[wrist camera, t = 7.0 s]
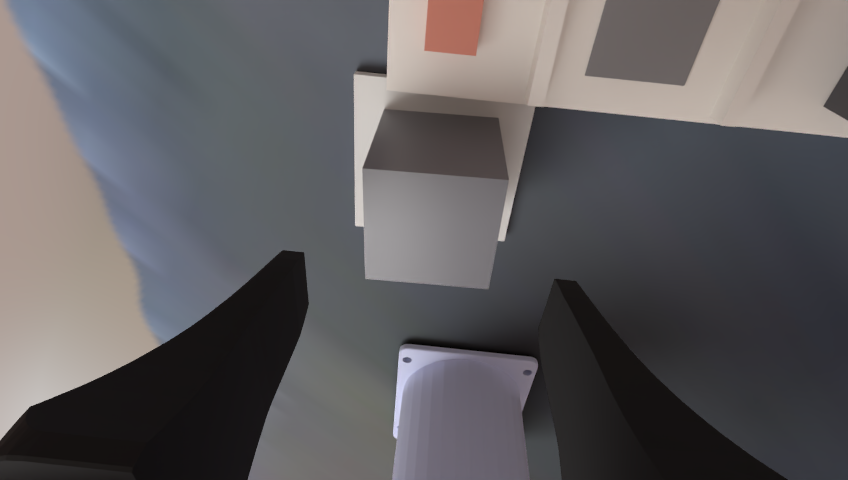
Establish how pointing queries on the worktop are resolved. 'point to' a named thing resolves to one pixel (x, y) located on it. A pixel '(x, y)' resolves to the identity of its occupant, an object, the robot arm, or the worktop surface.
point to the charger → (433, 198)
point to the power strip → (633, 57)
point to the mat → (376, 99)
